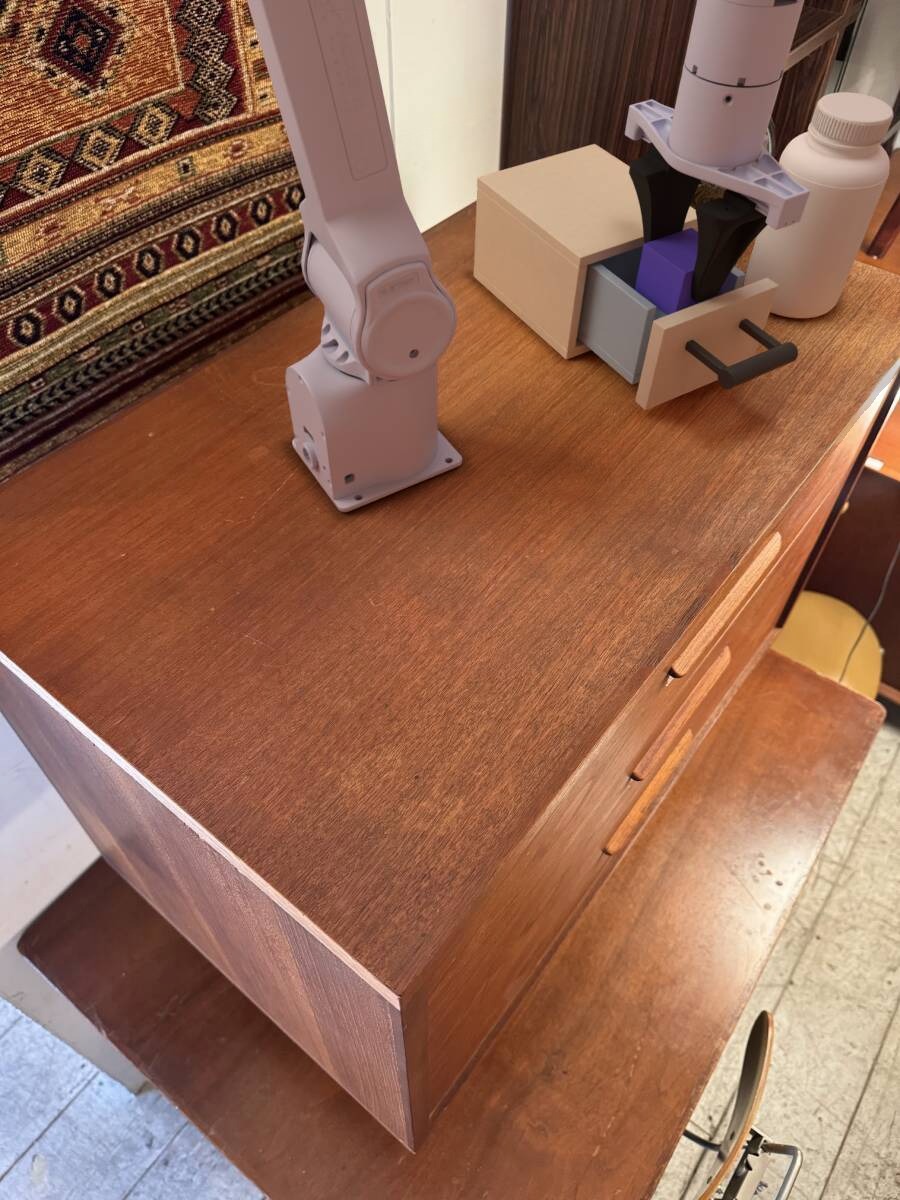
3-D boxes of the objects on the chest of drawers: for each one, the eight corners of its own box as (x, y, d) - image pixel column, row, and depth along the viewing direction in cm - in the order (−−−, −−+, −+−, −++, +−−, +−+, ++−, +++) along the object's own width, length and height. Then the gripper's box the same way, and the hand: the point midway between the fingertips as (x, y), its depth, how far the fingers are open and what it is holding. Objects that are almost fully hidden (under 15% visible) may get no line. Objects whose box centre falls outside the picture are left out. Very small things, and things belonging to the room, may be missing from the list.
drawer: (798, 401, 63) (831, 320, 58) (690, 450, 60) (715, 369, 55) (646, 286, 72) (663, 207, 67) (545, 323, 69) (554, 242, 64)
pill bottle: (827, 271, 76) (899, 86, 64) (844, 325, 71) (925, 134, 59) (736, 265, 76) (791, 80, 64) (746, 318, 71) (808, 127, 60)
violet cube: (673, 320, 60) (685, 273, 58) (634, 290, 63) (643, 243, 60) (720, 302, 62) (734, 256, 59) (680, 273, 64) (691, 227, 61)
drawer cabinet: (679, 316, 71) (705, 215, 65) (566, 360, 68) (580, 257, 61) (581, 241, 78) (594, 143, 72) (473, 276, 75) (477, 176, 68)
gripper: (876, 99, 48) (796, 313, 59) (701, 15, 56) (658, 219, 66) (785, 127, 46) (718, 345, 56) (615, 35, 53) (585, 243, 64)
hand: (681, 279), depth 61 cm, fingers closed on violet cube, 4 cm apart
